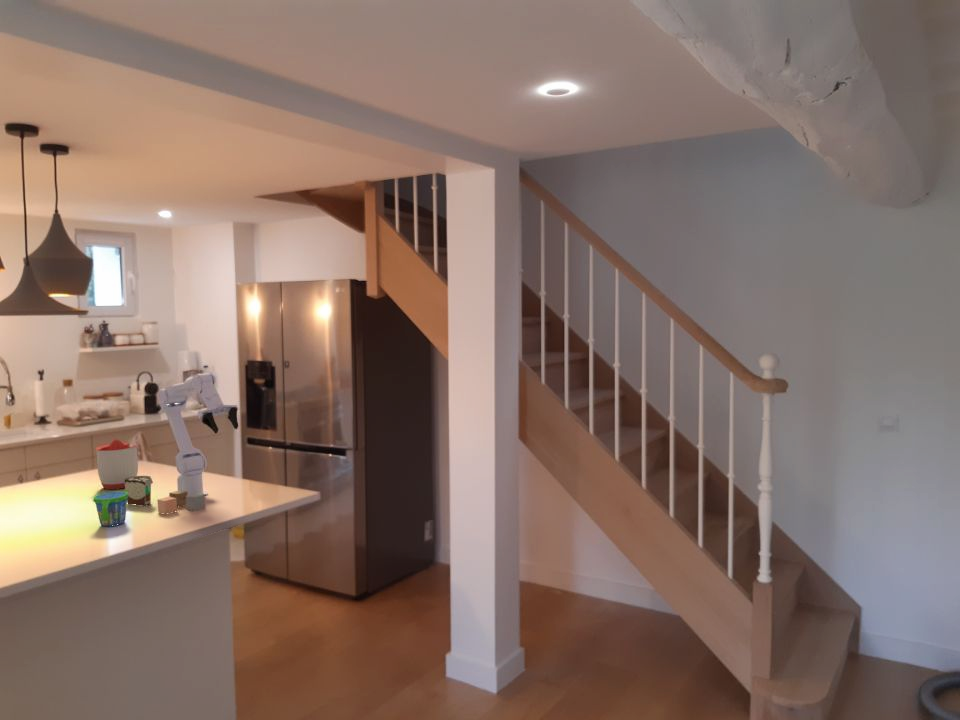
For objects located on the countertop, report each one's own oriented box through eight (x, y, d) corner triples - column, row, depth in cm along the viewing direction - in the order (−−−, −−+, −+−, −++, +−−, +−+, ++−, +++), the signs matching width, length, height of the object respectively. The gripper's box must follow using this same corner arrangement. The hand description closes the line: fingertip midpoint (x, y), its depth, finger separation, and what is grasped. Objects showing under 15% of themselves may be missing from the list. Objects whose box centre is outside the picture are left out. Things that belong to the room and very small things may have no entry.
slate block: (186, 509, 266) (185, 496, 266) (197, 506, 270) (196, 493, 269) (194, 511, 263) (193, 497, 263) (205, 508, 267) (204, 494, 267)
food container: (161, 502, 276) (159, 476, 276) (148, 506, 271) (146, 480, 270) (138, 499, 282) (136, 474, 281) (124, 504, 276) (122, 477, 275)
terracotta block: (158, 513, 262) (157, 499, 262) (169, 510, 266) (168, 496, 265) (165, 514, 260) (164, 501, 259) (177, 511, 263) (176, 498, 263)
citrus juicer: (151, 483, 309) (148, 436, 307) (112, 492, 294) (108, 443, 292) (129, 479, 317) (126, 433, 315) (90, 488, 302) (86, 440, 301)
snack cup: (119, 530, 243) (117, 500, 242) (86, 531, 242) (84, 501, 241) (137, 516, 258) (135, 488, 257) (106, 518, 257) (104, 489, 256)
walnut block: (170, 506, 271) (169, 492, 271) (180, 503, 275) (180, 490, 275) (177, 507, 269) (176, 494, 269) (188, 504, 273) (187, 491, 272)
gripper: (196, 396, 262) (210, 426, 257) (233, 390, 272) (248, 419, 267) (191, 408, 266) (205, 438, 261) (228, 402, 277) (243, 430, 271)
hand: (227, 429), depth 264 cm, fingers open, 7 cm apart
